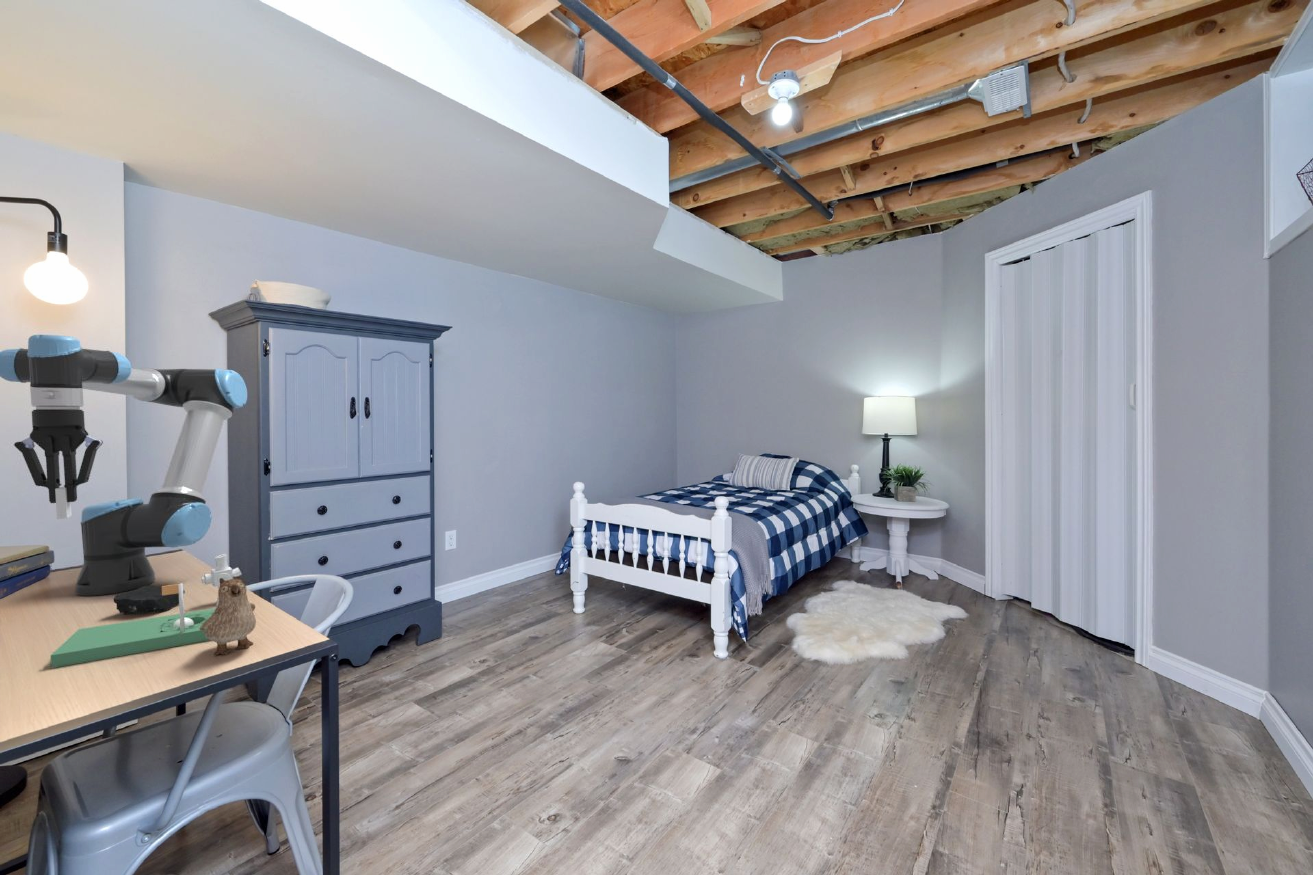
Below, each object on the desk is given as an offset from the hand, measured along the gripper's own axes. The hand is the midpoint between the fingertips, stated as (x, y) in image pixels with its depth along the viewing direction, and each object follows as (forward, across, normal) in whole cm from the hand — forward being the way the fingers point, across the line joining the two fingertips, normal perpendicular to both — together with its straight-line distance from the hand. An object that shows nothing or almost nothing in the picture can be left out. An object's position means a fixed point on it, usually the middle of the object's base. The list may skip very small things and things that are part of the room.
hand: (64, 517), depth 117 cm
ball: (+23, +22, -17) cm, 36 cm away
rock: (+25, +12, +4) cm, 28 cm away
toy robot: (+25, +26, +2) cm, 36 cm away
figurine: (+25, +31, -32) cm, 51 cm away
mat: (+24, +16, -17) cm, 34 cm away
